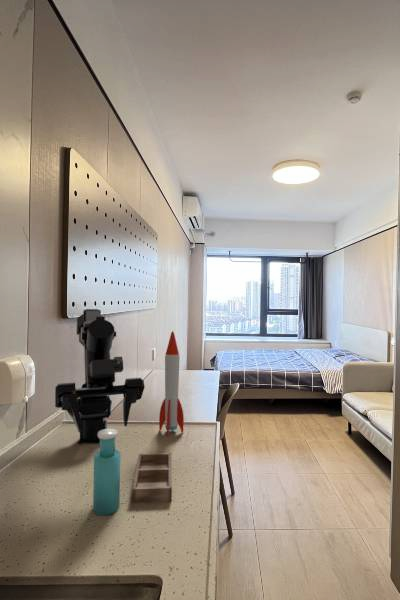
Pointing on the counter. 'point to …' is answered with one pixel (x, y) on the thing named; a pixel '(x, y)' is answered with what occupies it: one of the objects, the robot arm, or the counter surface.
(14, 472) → the counter surface
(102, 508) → the bottle
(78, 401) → the robot arm
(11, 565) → the counter surface
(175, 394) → the toy rocket
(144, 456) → the caddy
